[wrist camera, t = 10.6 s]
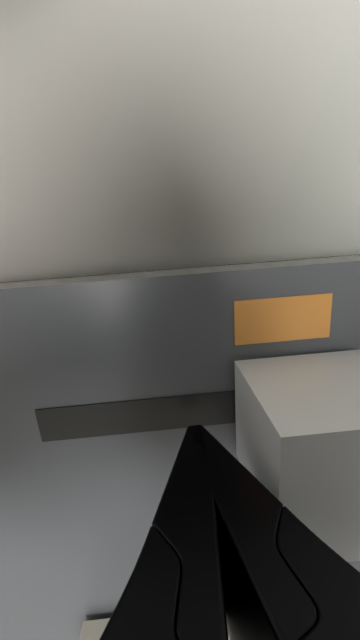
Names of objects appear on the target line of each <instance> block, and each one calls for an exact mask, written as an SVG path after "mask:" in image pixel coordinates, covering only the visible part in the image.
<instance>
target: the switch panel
mask: <svg viewBox="0 0 360 640" xmlns="http://www.w3.org/2000/svg"><path fill="white" fill-rule="evenodd" d="M359 349H360V255H349V256H337V257H324V258H311V259H298V260H286V261H273V262H260V263H248V264H235V265H222V266H209V267H197V268H184V269H171V270H159V271H146V272H133V273H120V274H108V275H95V276H82V277H70V278H57V279H44V280H31V281H19V282H6V283H0V640H79V638H80V633H81V629H82V624H83V621H90V620H98V619H106V618H110V617H111V615H112V613H113V611H114V609H115V607H116V605H117V603H118V601H119V599H120V597H121V595H122V593H123V591H124V589H125V587H126V585H127V582H128V580H129V578H130V576H131V574H132V572H133V570H134V567H135V565H136V562H137V560H138V557H139V555H140V552H141V550H142V548H143V545H144V543H145V540H146V537H147V534H148V532H149V529H150V527H151V526H152V521H153V519H154V516H155V513H156V511H157V508H158V505H159V503H160V500H161V497H162V495H163V492H164V489H165V486H166V484H167V481H168V478H169V476H170V473H171V470H172V468H173V465H174V462H175V459H176V457H177V454H178V451H179V449H180V446H181V443H182V441H183V438H184V435H185V432H186V430H187V427H188V426H192V425H202V426H203V427H204V428H205V429H206V430H207V431H208V432H209V433H210V434H211V435H212V436H213V437H214V438H215V439H217V440H218V441H219V442H220V443H221V444H222V445H223V446H224V447H225V448H226V449H227V450H228V451H229V452H230V453H231V454H232V455H233V456H234V457H235V458H236V459H237V460H238V458H237V455H236V414H235V364H234V361H238V360H249V359H260V358H271V357H282V356H293V355H304V354H315V353H326V352H337V351H348V350H359ZM238 461H239V460H238ZM348 563H349V564H351V565H352V566H353V567H354V568H355V569H357V570H358V571H359V572H360V561H356V562H348ZM227 630H228V628H227ZM228 640H230V636H229V632H228Z"/></svg>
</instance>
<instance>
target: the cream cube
mask: <svg viewBox="0 0 360 640" xmlns="http://www.w3.org/2000/svg"><path fill="white" fill-rule="evenodd" d="M109 619H110V618H106V619H98V620H90V621H83V624H82V629H81V633H80V638H79V640H99V639H100V637H101V635H102V633H103V631H104V629H105V627H106V625H107V623H108V621H109Z"/></svg>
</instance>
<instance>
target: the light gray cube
mask: <svg viewBox="0 0 360 640" xmlns="http://www.w3.org/2000/svg"><path fill="white" fill-rule="evenodd" d="M234 364H235V414H236V455H237V458H238V460H239V462H240V463H241V464H242V465H243V466H244V467H245V468H246V469H247V470H248V471H249V472H251V473H252V474H253V475H254V476H255V477H256V478H257V479H258V480H259V481H260V482H261V483H262V484H263V485H264V486H265V487H266V488H267V489H268V490H269V491H270V492H271V493H272V494H273V495H274V496H275V497H276V498H277V499H278V500H279V501H280V502H281V503H282V504H283V506H286V507H287V508H288V509H289V510H290V511H291V512H292V513H293V514H294V515H295V516H296V517H297V518H298V519H299V520H300V521H301V522H302V523H303V524H305V525H306V526H307V527H308V528H309V529H310V530H311V531H312V532H313V533H314V534H315V535H316V536H317V537H319V538H320V539H321V540H322V541H323V542H324V543H326V544H327V545H328V546H329V547H330V548H331V549H333V550H334V551H335V552H336V553H337V554H339V555H340V556H341V557H342V558H343V559H344V560H346V561H347V562H356V561H360V349H359V350H348V351H337V352H326V353H315V354H304V355H293V356H282V357H271V358H260V359H249V360H238V361H234Z"/></svg>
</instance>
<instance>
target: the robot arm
mask: <svg viewBox="0 0 360 640" xmlns="http://www.w3.org/2000/svg"><path fill="white" fill-rule="evenodd" d="M227 628H228V630H227ZM228 632H229V636H230V640H360V572H359V571H358V570H357V569H355V568H354V567H353V566H352V565H351V564H349V563H348V562H347V561H346V560H344V559H343V558H342V557H341V556H340V555H339V554H337V553H336V552H335V551H334V550H333V549H331V548H330V547H329V546H328V545H327V544H326V543H324V542H323V541H322V540H321V539H320V538H319V537H317V536H316V535H315V534H314V533H313V532H312V531H311V530H310V529H309V528H308V527H307V526H306V525H305V524H303V523H302V522H301V521H300V520H299V519H298V518H297V517H296V516H295V515H294V514H293V513H292V512H291V511H290V510H289V509H288V508H287V507H286V506H283V504H282V503H281V502H280V501H279V500H278V499H277V498H276V497H275V496H274V495H273V494H272V493H271V492H270V491H269V490H268V489H267V488H266V487H265V486H264V485H263V484H262V483H261V482H260V481H259V480H258V479H257V478H256V477H255V476H254V475H253V474H252V473H251V472H249V471H248V470H247V469H246V468H245V467H244V466H243V465H242V464H241V463H240V462H239V461H238V460H237V459H236V458H235V457H234V456H233V455H232V454H231V453H230V452H229V451H228V450H227V449H226V448H225V447H224V446H223V445H222V444H221V443H220V442H219V441H218V440H217V439H215V438H214V437H213V436H212V435H211V434H210V433H209V432H208V431H207V430H206V429H205V428H204V427H203V426H202V425H192V426H188V427H187V430H186V432H185V435H184V438H183V441H182V443H181V446H180V449H179V451H178V454H177V457H176V459H175V462H174V465H173V468H172V470H171V473H170V476H169V478H168V481H167V484H166V486H165V489H164V492H163V495H162V497H161V500H160V503H159V505H158V508H157V511H156V513H155V516H154V519H153V521H152V526H151V527H150V529H149V532H148V534H147V537H146V540H145V543H144V545H143V548H142V550H141V552H140V555H139V557H138V560H137V562H136V565H135V567H134V570H133V572H132V574H131V576H130V578H129V580H128V582H127V585H126V587H125V589H124V591H123V593H122V595H121V597H120V599H119V601H118V603H117V605H116V607H115V609H114V611H113V613H112V615H111V617H110V619H109V621H108V623H107V625H106V627H105V629H104V631H103V633H102V635H101V637H100V639H99V640H228Z"/></svg>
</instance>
